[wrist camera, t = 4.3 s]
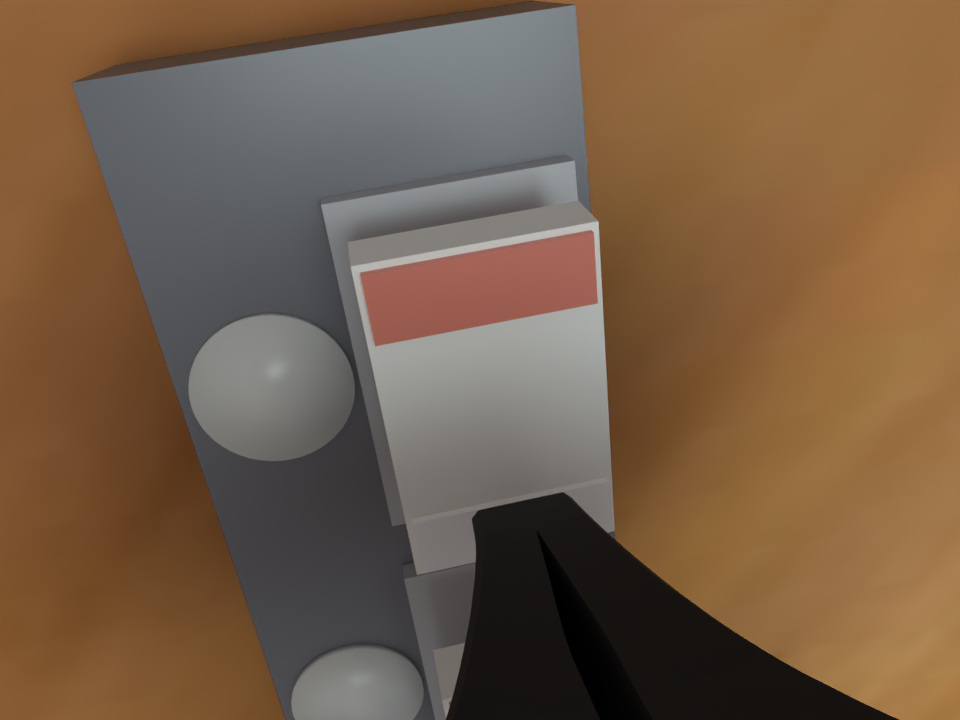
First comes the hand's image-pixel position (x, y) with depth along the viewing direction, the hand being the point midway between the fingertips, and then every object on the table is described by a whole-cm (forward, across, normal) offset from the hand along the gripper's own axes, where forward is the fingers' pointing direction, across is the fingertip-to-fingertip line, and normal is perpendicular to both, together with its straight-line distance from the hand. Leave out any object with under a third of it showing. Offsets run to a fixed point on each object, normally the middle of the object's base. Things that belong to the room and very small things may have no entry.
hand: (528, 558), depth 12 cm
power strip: (+6, +1, +2) cm, 6 cm away
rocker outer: (+1, 0, -2) cm, 2 cm away
